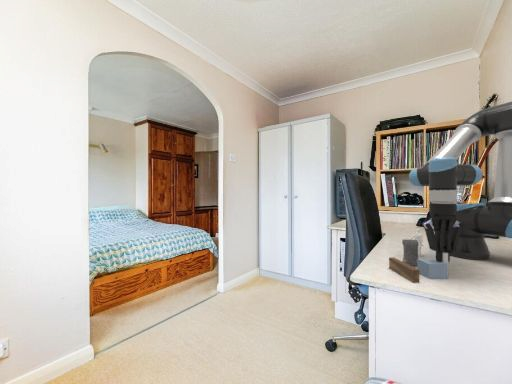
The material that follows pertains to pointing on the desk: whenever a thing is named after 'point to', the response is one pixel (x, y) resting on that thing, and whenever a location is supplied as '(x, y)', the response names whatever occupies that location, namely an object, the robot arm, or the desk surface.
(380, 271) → the desk surface
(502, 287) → the desk surface
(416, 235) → the action figure
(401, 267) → the board
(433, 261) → the block
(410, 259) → the stone
